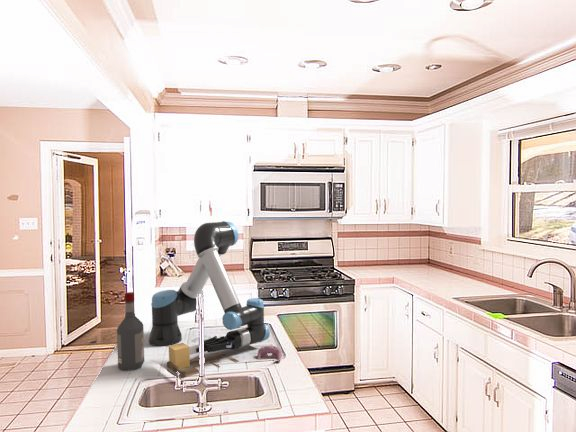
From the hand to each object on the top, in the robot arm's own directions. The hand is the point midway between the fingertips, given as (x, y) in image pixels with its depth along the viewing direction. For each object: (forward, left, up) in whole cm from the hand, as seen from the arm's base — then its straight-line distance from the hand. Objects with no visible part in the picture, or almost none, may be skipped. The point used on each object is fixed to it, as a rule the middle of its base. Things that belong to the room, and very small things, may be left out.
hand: (187, 351), depth 176 cm
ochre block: (-1, -3, -5) cm, 6 cm away
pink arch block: (+14, +30, -7) cm, 34 cm away
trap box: (+3, +6, -7) cm, 10 cm away
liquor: (-18, -16, -7) cm, 25 cm away
